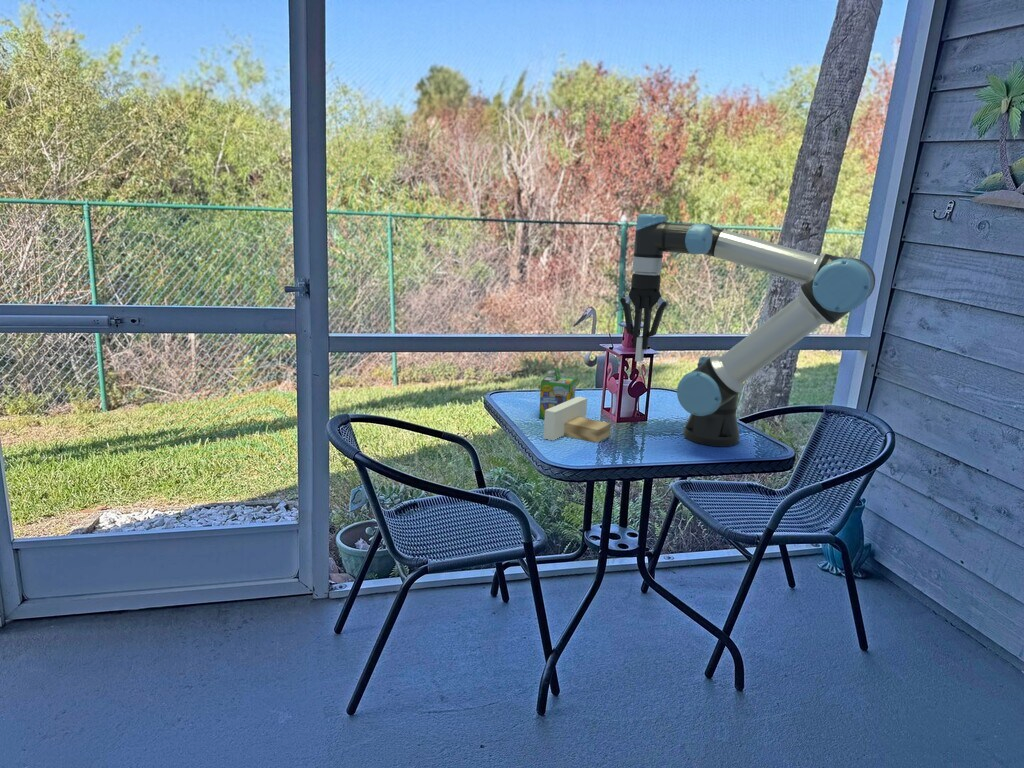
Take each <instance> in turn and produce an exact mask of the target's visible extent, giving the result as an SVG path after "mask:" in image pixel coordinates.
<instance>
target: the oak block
mask: <svg viewBox="0 0 1024 768" xmlns="http://www.w3.org/2000/svg"><path fill="white" fill-rule="evenodd" d="M611 426H612V425H611V423H610V422H604V421H600V420H596V419H590V418H587V417H586V418H582V417H577V418H574V419H572V420H570V421H568V422H566V423H565V433H564V435H566V436H565V437H568V436H570V437H569V438H573V437H574V438H573V439H577V438H578V440H581V439H582V441H587V442H591V443H596V444H598V443H600V442H602V441H604V440H605V439H607V438H609V437H610V436H611V435H610V434H611Z"/></svg>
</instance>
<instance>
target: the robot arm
mask: <svg viewBox="0 0 1024 768" xmlns="http://www.w3.org/2000/svg"><path fill="white" fill-rule="evenodd" d="M634 233H635V236H634V237H635V238H634V248H633V250H634V251H633V260H632V261H633V262H632V271H633V272H634V273H632V274H631V283H630V286H631V287H630V291H629V292H628V295H626V296H625V297H622V298H620V300H619V301H620V303H621V305H622V307H623V313H624V314H623V315H624V321H625V328H626V333H627V334H628V335H631V336H632V339H633V340H632V348H633V349H635V357H634V358H635V359H634V362H638V363H641V362H643V361H644V356H645V355H644V351H645V350H647V349H648V348H649V338H651V337H654V336H656V335H657V333H658V329H659V326H660V322H661V320H662V318H663V317H662V316H663V314H664V312H665V310H666V308H667V307H668V306H669V301H667V300H665V299H663V298H662V295H661V293H660V288H661V279H662V278H661V277H662V276H661V275H660V274H661V273H662V267H663V255H664V254H663V253H675V254H677V253H679V254H689V255H693V256H695V255H707V256H710V257H713V258H717V259H721V260H724V261H728V262H731V263H734V264H737V265H740V266H744V267H746V268H750V269H754V270H757V271H760V272H763V273H767V274H770V275H774V276H777V277H780V278H784V279H787V280H790V281H794V282H797V283H800V284H802V285H801V286H800V287H799V289H798V290H799V291H798V296H797V297H795V298H794V299H793V300H792V301H790V302H789V303H787V305H785V306H784V307H783V308H781V309H780V310H778V311H777V312H776V313H775V314H774V315H772V316H771V317H770V318H769V319H767V320H766V321H765V322H764V323H762V324H761V325H759V327H757V328H755V330H753V331H752V332H751V333H749V334H748V335H747V336H746V337H744V338H742V340H741V341H739V342H737V344H735V345H734V346H733V347H731V348H730V349H728V350H727V351H726V352H725V353H723V354H722V355H712V356H700V357H699V359H698V362H697V364H696V365H697V367H696V368H695V369H694V370H692V371H691V372H690V371H689V372H688V373H686V374H685V375H683V377H682V378H681V379H680V380H679V382H678V385H677V387H676V388H677V389H676V395H677V400H678V403H679V404H680V406H681V407H682V408H683V410H685V411H686V412H687V413H689V417H688V419H687V421H686V423H685V426H684V429H683V437H684V438H686V440H689V441H691V442H694V443H697V444H700V445H704V444H705V445H706V446H711V445H712V447H731V446H730V445H733V446H735V444H736V445H738V444H739V443H738V442H740V430H739V425H738V420H737V406H738V400H739V394H740V393H741V392H742V391H743V383H744V382H746V381H747V380H748V379H750V378H751V377H752V376H754V375H755V374H757V373H758V372H759V371H761V370H762V369H763V368H765V367H767V366H768V365H769V364H771V362H773V361H774V360H775V359H777V358H778V357H779V356H781V355H782V354H784V353H785V352H786V351H787V350H789V349H790V348H792V347H793V346H795V344H797V343H798V342H800V341H801V340H802V339H804V338H805V337H806V336H808V335H809V334H811V333H812V332H814V331H815V330H816V329H817V328H819V327H820V326H822V325H833V324H835V323H837V322H838V321H839V320H840V319H842V318H843V317H844V316H846V315H847V314H849V313H850V312H851V311H853V310H855V309H857V308H858V307H860V306H861V305H863V303H865V301H866V300H868V299H869V297H870V296H871V295H872V294H873V292H874V289H875V286H876V277H875V276H876V275H875V273H874V270H873V269H872V267H871V265H869V264H868V263H867V262H865V261H864V260H861V259H858V258H855V257H843V256H838V255H833V254H829V253H823V254H821V255H817V254H813V253H810V252H806V251H804V250H803V251H802V250H798V249H795V248H792V247H788V246H784V245H781V244H777V243H774V242H769V241H767V240H763V239H760V238H756V237H752V236H749V235H745V234H741V233H738V232H734V231H730V230H727V229H722V228H720V227H716V226H714V225H712V224H708V223H697V222H696V223H690V222H689V223H688V222H687V223H683V222H668V221H667V216H666V215H665V214H661V213H660V214H659V213H658V214H656V213H641V214H639V215H638V216H637V220H636V226H635V231H634ZM631 302H632V304H633V306H634V318H633V316H632V309H631ZM657 303H658V304H657ZM656 304H657V306H658V307H657V311H656V312H655V316H654V319H653V322H651V319H652V312H653V308H654V307H655V306H656ZM643 312H644V314H643ZM643 315H644V316H643ZM642 316H643V326H642ZM633 319H634V320H633ZM633 321H634V322H633ZM651 323H652V325H651ZM641 329H642V336H641ZM737 443H738V444H737Z"/></svg>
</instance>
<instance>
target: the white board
mask: <svg viewBox="0 0 1024 768" xmlns="http://www.w3.org/2000/svg"><path fill="white" fill-rule="evenodd" d="M587 407H588V398H587V397H585V396H575V398H573V399H571V400H568V401H566V402H564V403H561V404H559V405H556V406H554V407H552V408H549V409H547V410H545V419H543V420H544V423H543V435H542V439H543V440H546V439H548V440H547V441H551V440H552V442H554V441H556V440H558V439H560V438H562V437H563V436H564V433H565V423H566V422H568V421H570V420H572V419H574V418H577V417H582V418H587ZM561 436H562V437H561ZM559 437H560V438H559ZM557 438H558V439H557ZM555 439H556V440H555ZM553 440H554V441H553Z"/></svg>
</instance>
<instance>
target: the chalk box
mask: <svg viewBox="0 0 1024 768" xmlns="http://www.w3.org/2000/svg"><path fill="white" fill-rule="evenodd" d="M559 368H560V367H559V366H557V367H556V368H554V374H555V376H553V375H547V376H545V377H544V378H542V380H541V381H540V395H539V397H540V398H539V414H538V415H539V417H538V419H540V420H541V419H543V420H545V410H547V409H549V408H552V407H554V406H556V405H559V404H561V403H564V402H566V401H568V400H571V399H573V398H576V385H577V384H576V383H577V379H576V378H572V377H571V378H570V377H564V376H561V375H560V374H561V373H560V369H559Z"/></svg>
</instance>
